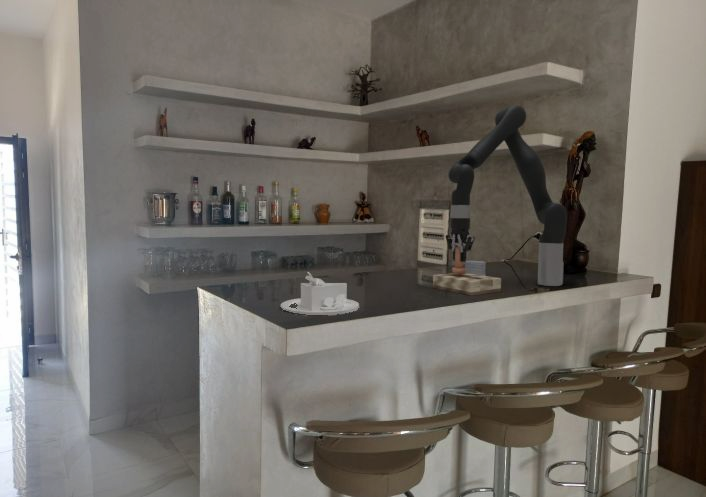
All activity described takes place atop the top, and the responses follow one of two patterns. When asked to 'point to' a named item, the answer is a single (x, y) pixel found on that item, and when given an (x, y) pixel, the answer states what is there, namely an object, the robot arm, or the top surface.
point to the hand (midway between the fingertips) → (459, 261)
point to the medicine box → (475, 267)
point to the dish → (321, 299)
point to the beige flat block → (467, 283)
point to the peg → (458, 263)
